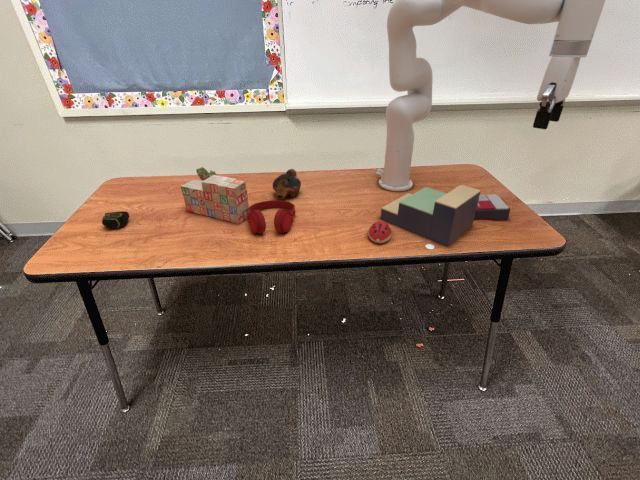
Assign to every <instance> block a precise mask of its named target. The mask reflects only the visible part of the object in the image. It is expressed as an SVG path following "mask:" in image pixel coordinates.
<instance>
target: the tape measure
mask: <svg viewBox="0 0 640 480" xmlns="http://www.w3.org/2000/svg"><path fill="white" fill-rule="evenodd" d="M129 219H130V213H129V212H128V211H123V210H122V211H113V212H105V213H104V215H103V216H102V219H101V223H102V225H103V226H104V227H105V228H107V229H117V228H118V229H119V228H121V227H124V226H125V225H127V224H128V223H129Z"/></svg>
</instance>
